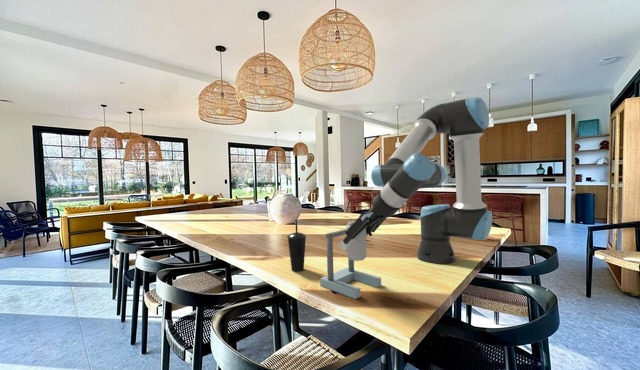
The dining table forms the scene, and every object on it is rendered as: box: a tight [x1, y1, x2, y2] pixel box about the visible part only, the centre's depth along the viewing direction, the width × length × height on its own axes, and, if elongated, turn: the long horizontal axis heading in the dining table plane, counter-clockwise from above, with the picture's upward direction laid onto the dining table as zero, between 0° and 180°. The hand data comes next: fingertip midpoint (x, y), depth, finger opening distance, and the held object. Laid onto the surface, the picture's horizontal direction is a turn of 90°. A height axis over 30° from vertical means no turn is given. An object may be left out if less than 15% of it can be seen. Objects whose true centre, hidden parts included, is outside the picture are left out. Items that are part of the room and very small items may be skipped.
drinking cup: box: [286, 219, 307, 272], centre depth 109 cm, size 8×8×20 cm
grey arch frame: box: [319, 228, 382, 300], centre depth 92 cm, size 15×14×18 cm
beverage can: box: [345, 220, 367, 262], centre depth 89 cm, size 6×6×12 cm
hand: (347, 245), depth 92 cm, fingers closed on beverage can, 6 cm apart
